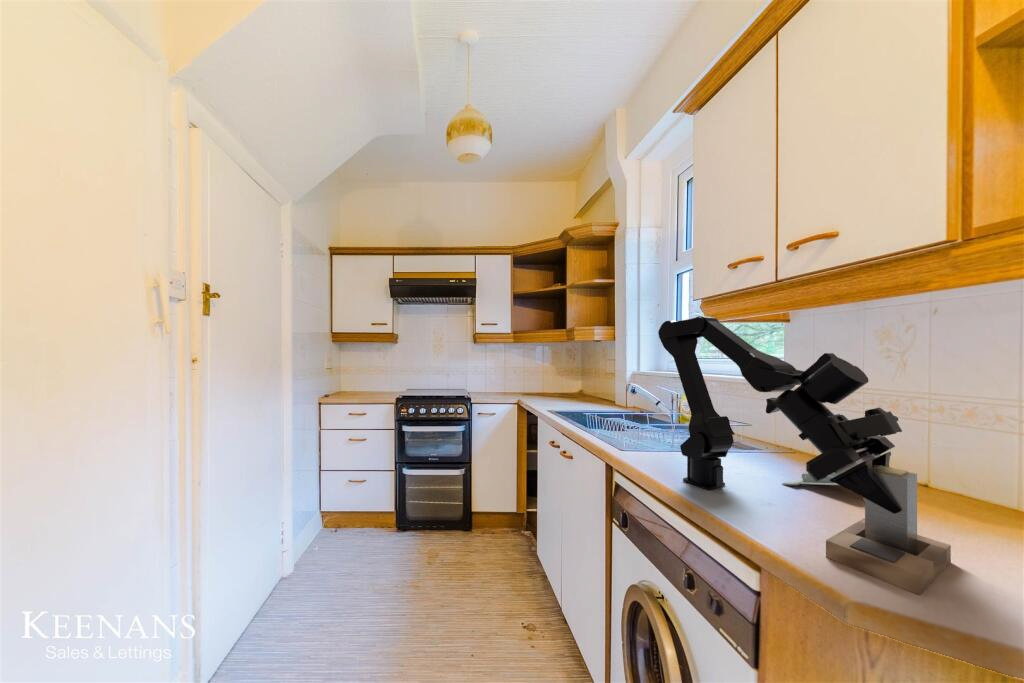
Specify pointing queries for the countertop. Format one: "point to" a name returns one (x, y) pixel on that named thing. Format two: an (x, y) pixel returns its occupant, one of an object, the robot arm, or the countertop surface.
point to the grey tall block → (888, 525)
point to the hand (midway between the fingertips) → (903, 508)
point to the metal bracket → (812, 480)
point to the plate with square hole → (890, 558)
